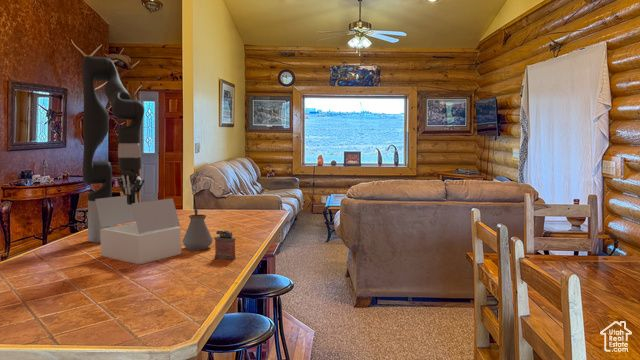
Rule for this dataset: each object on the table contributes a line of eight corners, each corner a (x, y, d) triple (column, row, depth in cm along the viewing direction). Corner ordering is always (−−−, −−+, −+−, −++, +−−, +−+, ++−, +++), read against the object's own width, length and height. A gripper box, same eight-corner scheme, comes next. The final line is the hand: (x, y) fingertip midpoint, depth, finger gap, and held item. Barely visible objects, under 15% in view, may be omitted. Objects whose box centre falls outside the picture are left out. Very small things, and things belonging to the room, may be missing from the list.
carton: (101, 255, 173) (100, 228, 173) (143, 246, 189) (142, 221, 188) (139, 264, 162) (138, 235, 161) (181, 254, 177) (180, 227, 176)
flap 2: (131, 203, 162) (132, 203, 162) (171, 198, 177) (172, 198, 176) (139, 233, 161) (139, 233, 161) (179, 225, 176) (180, 225, 175)
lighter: (237, 258, 171) (237, 230, 170) (232, 260, 168) (232, 232, 167) (217, 256, 174) (217, 229, 173) (212, 258, 170) (212, 230, 170)
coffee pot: (213, 250, 183) (213, 211, 181) (182, 252, 179) (181, 213, 178) (210, 239, 203) (209, 204, 202) (182, 240, 200) (181, 205, 199)
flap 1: (101, 227, 173) (100, 227, 173) (142, 220, 187) (141, 220, 187) (95, 199, 173) (95, 199, 174) (136, 194, 188) (135, 194, 188)
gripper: (108, 156, 170) (110, 204, 171) (132, 156, 162) (133, 207, 164) (127, 155, 176) (128, 202, 177) (150, 156, 169) (151, 204, 170)
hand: (131, 204), depth 171 cm, fingers closed
